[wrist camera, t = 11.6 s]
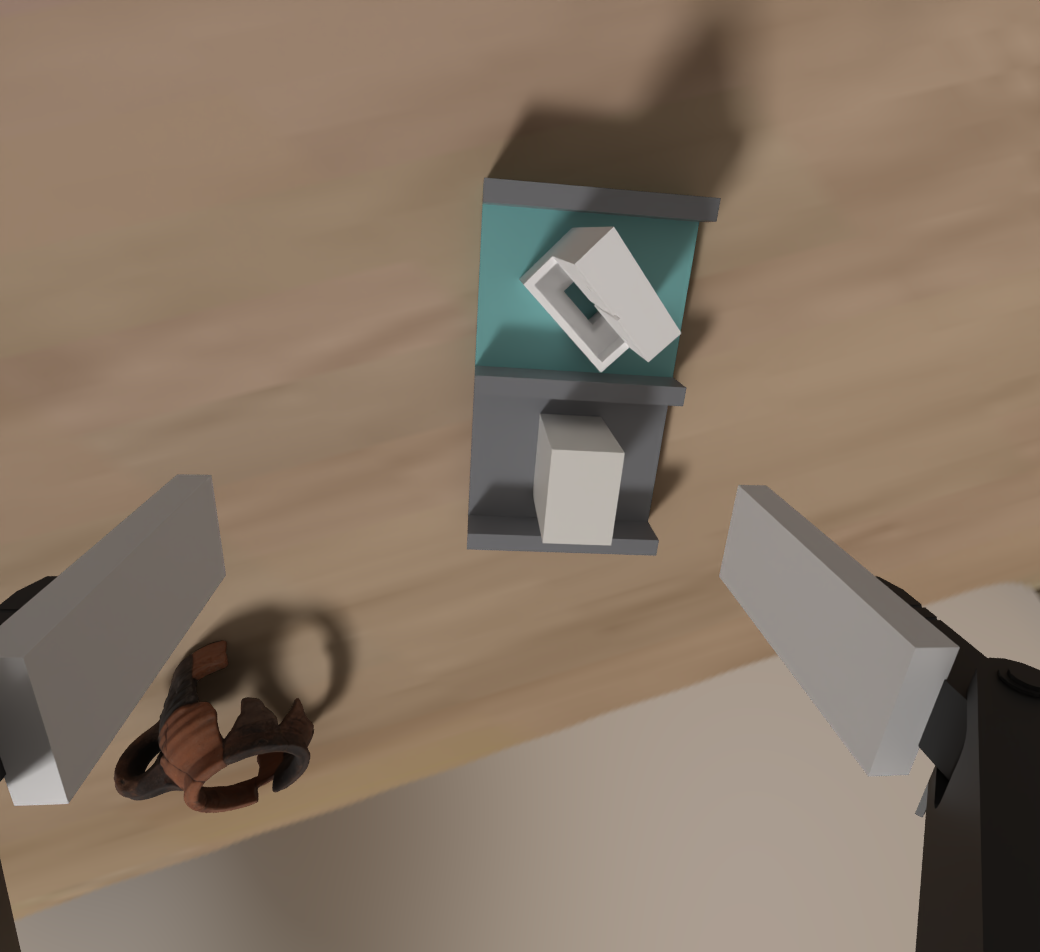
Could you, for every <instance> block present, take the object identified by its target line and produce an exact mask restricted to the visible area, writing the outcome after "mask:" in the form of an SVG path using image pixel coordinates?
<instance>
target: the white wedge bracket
mask: <svg viewBox="0 0 1040 952" xmlns="http://www.w3.org/2000/svg"><path fill="white" fill-rule="evenodd" d="M519 280H520V281H521V282H522V283H523V285H524V286H525V287H526V288H527V289H528V290H529V292H530V293H531V294H532V295H533V296H534V297H535V298H536V299H537V301H538V302H539V303H540V304H541V305H542V306H543V307H544V309H545V310H546V311H547V312H548V313H549V314H550V315H551V316H552V318H553V319H554V320H555V321H556V322H557V323H558V324H559V326H560V327H561V328H562V329H563V330H564V331H565V332H566V334H567V335H568V336H569V337H570V338H571V339H572V340H573V341H574V343H575V344H576V345H577V346H578V347H579V348H580V349H581V351H582V352H583V353H584V354H585V355H586V356H587V357H588V359H589V360H590V361H591V362H592V363H593V364H594V365H595V366H596V368H597V369H598V370H599V371H600V372H602V371H603V370H605V369H606V368H607V367H608V366H609V365H610V364H611V363H612V362H614V361H615V360H616V359H617V358H618V357H619V356H620V355H621V354H622V353H624V352H625V351H626V350H627V349H628V348H631V349H632V350H633V351H634V352H636V353H637V354H638V355H640V356H641V357H642V358H643V359H645V360H646V361H647V362H649V361H650V360H652V359H653V358H654V357H655V356H656V355H657V354H658V353H660V352H661V351H662V350H663V349H664V348H665V347H666V346H668V345H669V344H670V343H671V342H672V341H673V340H674V339H675V338H677V337H678V336H679V335H680V334H681V332H680V330H679V329H678V327H677V326H676V324H675V322H674V321H673V319H672V318H671V316H670V314H669V313H668V311H667V310H666V308H665V307H664V305H663V303H662V302H661V300H660V299H659V297H658V296H657V294H656V292H655V291H654V289H653V288H652V286H651V284H650V283H649V281H648V280H647V278H646V277H645V275H644V273H643V272H642V270H641V269H640V267H639V265H638V264H637V262H636V261H635V259H634V258H633V256H632V254H631V253H630V251H629V250H628V248H627V247H626V245H625V243H624V242H623V240H622V239H621V237H620V235H619V234H618V232H617V231H616V229H615V228H614V227H575V228H571V229H570V230H569V231H568V232H567V233H566V234H565V235H564V236H563V237H562V238H561V239H560V240H559V241H558V242H557V243H556V244H555V245H554V246H553V247H552V248H551V249H550V250H549V251H548V252H547V253H546V254H545V255H544V256H543V257H541V258H540V259H539V260H538V261H537V262H536V263H535V264H534V265H533V266H532V267H531V268H530V269H529V270H528V271H527V272H526V273H525V274H524V275H523V276H522V277H521V278H520V279H519ZM573 282H574V283H575V284H576V285H577V286H578V287H579V288H580V290H581V291H582V292H583V293H584V294H585V296H586V297H587V298H588V299H589V300H590V301H591V302H592V303H594V304H595V305H594V306H595V307H596V309H597V310H598V312H596V313H595V314H594V315H593V316H592V317H591V318H590V319H589V320H588V319H587V318H586V317H585V315H584V314H583V313H582V312H581V311H580V310H579V308H578V307H577V306H576V305H575V304H574V303H573V301H572V300H571V299H570V298H569V297H568V296H567V294H566V293H565V292H564V291H565V290H566V289H567V288H568V287H569V286H570V285H571V284H572V283H573Z"/></svg>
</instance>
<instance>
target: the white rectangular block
mask: <svg viewBox="0 0 1040 952" xmlns="http://www.w3.org/2000/svg"><path fill="white" fill-rule="evenodd" d="M624 455H625V453H624V451H623V449H622V448H621V446H620V445H619V443H618V442H617V440H616V439H615V437H614V436H613V434H612V433H611V431H610V430H609V428H608V427H607V425H606V424H605V422H604V421H603V419H602V418H601V417H595V416H576V415H558V414H540V419H539V430H538V441H537V452H536V463H535V475H534V486H533V498H534V503H535V508H536V513H537V518H538V523H539V528H540V533H541V537H542V542H543V543H552V544H581V545H610V546H611V543H612V536H613V529H614V523H615V516H616V509H617V502H618V496H619V489H620V482H621V475H622V469H623V462H624Z"/></svg>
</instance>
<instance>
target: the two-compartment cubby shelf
mask: <svg viewBox="0 0 1040 952" xmlns="http://www.w3.org/2000/svg"><path fill="white" fill-rule="evenodd" d="M720 199H721V198H712V197H700V196H689V195H677V194H666V193H654V192H643V191H632V190H620V189H609V188H597V187H586V186H574V185H563V184H551V183H540V182H528V181H517V180H506V179H494V178H484V185H483V207H482V229H481V250H480V272H479V294H478V316H477V337H476V359H475V381H474V403H473V424H472V446H471V468H470V490H469V511H468V537H467V549H475V550H505V551H535V552H565V553H595V554H625V555H655V556H656V553H657V547H658V542H659V540H658V538H657V536H656V535H655V533H654V531H653V530H652V528H651V526H650V524H649V523H648V518H649V512H650V507H651V501H652V495H653V489H654V483H655V477H656V472H657V466H658V460H659V454H660V448H661V442H662V437H663V431H664V425H665V419H666V413H667V407H668V405H669V406H683V404H684V398H685V393H686V387H685V386H683V385H682V384H681V383H679V382H678V381H677V380H676V379H674V378H673V372H674V366H675V361H676V355H677V349H678V343H679V337H680V335H679V336H678V337H677V338H675V339H674V340H673V341H672V342H671V343H670V344H669V345H668V346H666V347H665V348H664V349H663V350H662V351H661V352H660V353H658V354H657V355H656V356H655V357H654V358H653V359H652V360H650V361H649V362H647V361H646V360H645V359H643V358H642V357H641V356H640V355H638V354H637V353H636V352H634V351H633V350H632V349H631V348H628V349H627V350H626V351H625V352H624V353H622V354H621V355H620V356H619V357H618V358H617V359H616V360H615V361H614V362H612V363H611V364H610V365H609V366H608V367H607V368H606V369H605V370H603V371H602V372H600V371H599V370H598V369H597V368H596V366H595V365H594V364H593V363H592V362H591V361H590V360H589V359H588V357H587V356H586V355H585V354H584V353H583V352H582V351H581V349H580V348H579V347H578V346H577V345H576V344H575V343H574V341H573V340H572V339H571V338H570V337H569V336H568V335H567V334H566V332H565V331H564V330H563V329H562V328H561V327H560V326H559V324H558V323H557V322H556V321H555V320H554V319H553V318H552V316H551V315H550V314H549V313H548V312H547V311H546V310H545V309H544V307H543V306H542V305H541V304H540V303H539V302H538V301H537V299H536V298H535V297H534V296H533V295H532V294H531V293H530V292H529V290H528V289H527V288H526V287H525V286H524V285H523V283H522V282H521V281H520V280H519V279H520V278H521V277H522V276H523V275H524V274H525V273H526V272H527V271H528V270H529V269H530V268H531V267H532V266H533V265H534V264H535V263H536V262H537V261H538V260H539V259H540V258H541V257H543V256H544V255H545V254H546V253H547V252H548V251H549V250H550V249H551V248H552V247H553V246H554V245H555V244H556V243H557V242H558V241H559V240H560V239H561V238H562V237H563V236H564V235H565V234H566V233H567V232H568V231H569V230H570V229H571V228H575V227H614V228H615V229H616V231H617V232H618V234H619V235H620V237H621V239H622V240H623V242H624V243H625V245H626V247H627V248H628V250H629V251H630V253H631V254H632V256H633V258H634V259H635V261H636V262H637V264H638V265H639V267H640V269H641V270H642V272H643V273H644V275H645V277H646V278H647V280H648V281H649V283H650V284H651V286H652V288H653V289H654V291H655V292H656V294H657V296H658V297H659V299H660V300H661V302H662V303H663V305H664V307H665V308H666V310H667V311H668V313H669V314H670V316H671V318H672V319H673V321H674V322H675V324H676V326H677V327H678V329H679V330H680V331H681V325H682V320H683V314H684V308H685V302H686V296H687V290H688V285H689V279H690V273H691V267H692V261H693V255H694V250H695V244H696V238H697V232H698V226H699V222H716V221H717V216H718V210H719V205H720ZM564 292H565V293H566V294H567V296H568V297H569V298H570V299H571V300H572V301H573V303H574V304H575V305H576V306H577V307H578V308H579V310H580V311H581V312H582V313H583V314H584V315H585V317H586V318H587V319H588V320H589V319H590V318H591V317H592V316H593V315H594V314H595V313H596V312H598V310H597V309H596V307H595V306H594V305H595V304H594V303H592V302H591V301H590V300H589V299H588V298H587V297H586V296H585V294H584V293H583V292H582V291H581V290H580V288H579V287H578V286H577V285H576V284H575V283H574V282H573V283H572V284H571V285H570V286H569V287H568V288H567V289H566V290H565V291H564ZM540 414H558V415H576V416H595V417H601V418H602V419H603V421H604V422H605V424H606V425H607V427H608V428H609V430H610V431H611V433H612V434H613V436H614V437H615V439H616V440H617V442H618V443H619V445H620V446H621V448H622V449H623V451H624V453H625V455H624V462H623V469H622V475H621V482H620V489H619V496H618V502H617V509H616V516H615V523H614V529H613V536H612V543H611V546H610V545H581V544H552V543H543V542H542V537H541V533H540V528H539V523H538V518H537V513H536V508H535V503H534V498H533V486H534V475H535V463H536V452H537V441H538V430H539V419H540Z"/></svg>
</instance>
